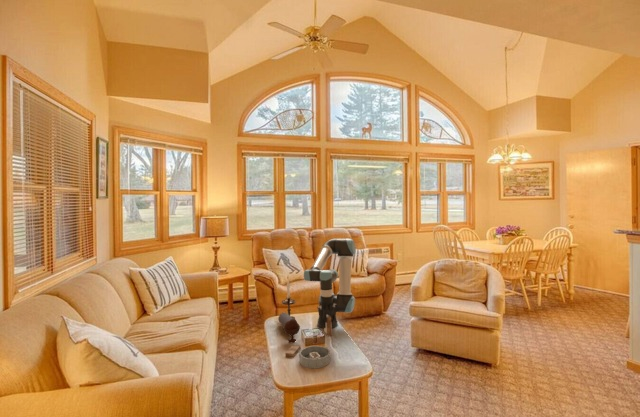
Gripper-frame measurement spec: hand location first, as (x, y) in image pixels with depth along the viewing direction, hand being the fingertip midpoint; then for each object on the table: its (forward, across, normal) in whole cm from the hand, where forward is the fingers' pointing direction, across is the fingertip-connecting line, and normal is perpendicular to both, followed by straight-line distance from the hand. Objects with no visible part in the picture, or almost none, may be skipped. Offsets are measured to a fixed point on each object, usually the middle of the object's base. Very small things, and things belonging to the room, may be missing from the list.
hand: (328, 331), depth 213 cm
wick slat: (+2, 0, 0) cm, 2 cm away
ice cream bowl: (+10, +18, -20) cm, 29 cm away
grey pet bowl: (+10, +15, +13) cm, 22 cm away
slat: (+10, +23, -3) cm, 25 cm away
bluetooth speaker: (+11, +15, -40) cm, 44 cm away
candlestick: (+11, +7, -61) cm, 63 cm away
